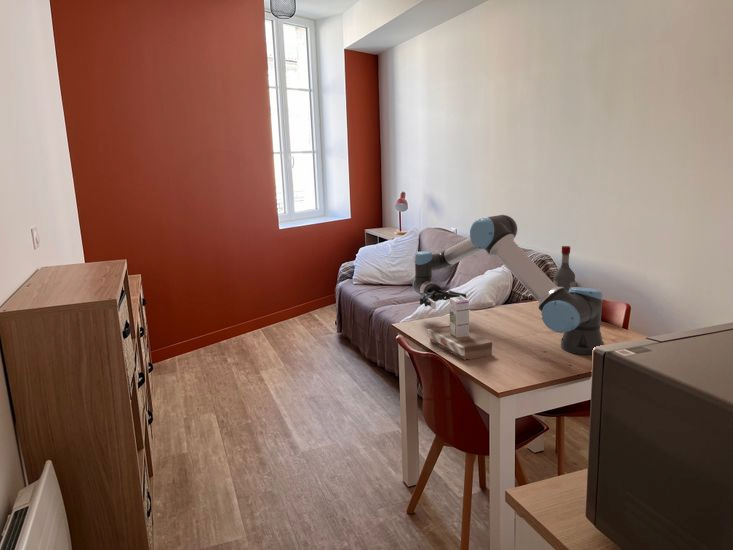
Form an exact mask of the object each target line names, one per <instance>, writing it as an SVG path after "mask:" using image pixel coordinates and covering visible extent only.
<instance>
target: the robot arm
mask: <svg viewBox="0 0 733 550" xmlns="http://www.w3.org/2000/svg"><path fill="white" fill-rule="evenodd" d="M517 235H518V225H517V222H516V221H515V219H514V218H512V216H509V215H505V214H500V215H494V216H483V217H480V218H478V219H476V220H475V221H474V222H473V223H472V224H471V226H470V229H469V238H468V237H467V238H466V239H464V240H462V241H460V242H458V243H456V244H454V245H453V246H450V247H449V248H446V249H444V250H443V251H440V252H438V253H434V254H432V253H433V252H431V251H425V250H422V251H418V252H416V253H415V258H414V273H415V274H414V275H415V276H414V279H413V281H412V288H413V290H414V291H415V292H416V293H417V294H418V295H420V297H419V305H420V306H422V305H423V304H424V307H428V306H429V307H430V308H431V309H433V310H436V309H437V305H436V303H437V302H438V301H442V300H443V301H448V300H449V301H450V298H453V297H464V298H466V299H467V294H466V293H461V292H458V291H452V290H449V289H448V291H445V290H443V288H442V287H441V286H439V285H438V284H436V283H435V282H433V272H436V271H439V270H443V269H448V268H451V267H453V266H454V265H455V264H457V263H459V262H462V261H463V260H466V259H468V258H470V257H472V256H474V255H476V254H478V253H481V252H483V251H486V252H487V254H488V255H489V256H491V257H496V258H498V259H499V261H500V262H501V263H502V264H503V265H504V266H505V267H506V268H507V270H509V271H510V273H511V274H512V275H513V276H514V277H515V278H516V279H517V280H518V282H520V283H521V285H522V286H523V287H524V288H525V289H526V290H527V291H528V292H529V294H531V295H532V297H533V298H534V299H535V300H536V301H537V302H538V305H537V306H538V307H537V308H538V309H539V311H540V312H541V316H542V317H541V319H542V321H543V323H544V324H545V325H544V326H546V327H547V328H548V329H549V330H551V331H553V332H555V333H563V335H562V337H561V340H560V347H561V348H562V350H563V351H566V352H568V353H573V354H576V353H577V355H584V354H588V356H589V354H591V355H592V350H593V348H594V347H596V346H600V345H604V346H605V343H604V340H603V336H602V332H601V323H602V309H603V302H604V299H603V292H602V291H600V290H599V289H596V288H592V287H591V288H589V287H582V286H577V287H576V286H575V287H571V288H569V291H567V290H566V289H565V288H564V287H557V286H556V285H555V284H554V283H553V282H554V281H552V280H551V278H549V276H547V274H546V273H545V272H544V271H543V270H542V269H541V268H540V267H539V266H538V265H537V264H536V263H535V262H534V260H533V259H531V258H530V257H529V255H528V254H526V252H524V250H523V249H522V248H521V247H520V246H519V245H518V244H517V243H516V242H515V238H516V236H517ZM591 355H590V356H591Z"/></svg>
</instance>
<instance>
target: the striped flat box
mask: <svg viewBox="0 0 733 550" xmlns="http://www.w3.org/2000/svg"><path fill="white" fill-rule="evenodd" d="M427 337H428V338H429V339H430V340H431V341H430V340H429V341H430V342H432V341H433V342H435V343H436V344H435V343H434V344H435V345H437V344H438V345H440V346H441V347H440V346H439V347H440V348H442V347H443V348H442V349H444V348H445V349H446V351H447V350H448V351H447V352H449V351H450V352H449V353H451V352H452V353H453V355H454V354H455V355H454V356H456V355H457V356H456V357H458V356H459V357H461V358H462V359H461V358H460V359H461V360H463V359H464V360H465V361H467V360H466V359H470V360H473V358H474V359H478V357H479V358H483V357H487V356H492V355H493V341H491V340H489V339H487V338H485V337H482V336H480V335H479V334H477V333H474V332H472V331H470V330H469V336H468V337H461V338H456V337H454V336H453V335H451V334H450V324H449V325H445V326H439V327H433V328H428V329H427ZM433 342H432V343H433ZM438 345H437V346H438ZM445 349H444V350H445ZM452 353H451V354H452ZM459 357H458V358H459ZM464 360H463V361H464Z"/></svg>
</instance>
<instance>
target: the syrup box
mask: <svg viewBox="0 0 733 550" xmlns="http://www.w3.org/2000/svg"><path fill="white" fill-rule="evenodd" d="M449 325H450V334H451V335H453V336H454V337H456V338H461V337H468V336H469V331H470V300H469V299H468V298H467V297H466V298H464V297H453V298H450V300H449Z"/></svg>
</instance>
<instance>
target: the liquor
mask: <svg viewBox="0 0 733 550" xmlns="http://www.w3.org/2000/svg"><path fill="white" fill-rule="evenodd" d="M570 254H571V246H569V245H563V246H561V265H560V267H559V268H558V269H557V270H556V271H555V272H554V275H553V281H552V282H553V283H554V284H555V285H556V286H557V287H564V288H565V289H566V290H567V291H569V288H571V287H576V286H575V284H576V275H575V272H574V271H573V270H572V268H570V264H569V262H570Z"/></svg>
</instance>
